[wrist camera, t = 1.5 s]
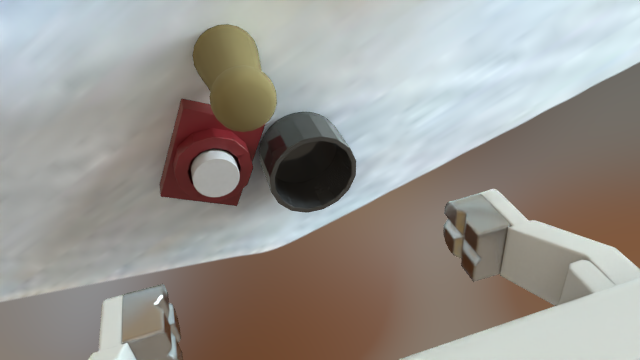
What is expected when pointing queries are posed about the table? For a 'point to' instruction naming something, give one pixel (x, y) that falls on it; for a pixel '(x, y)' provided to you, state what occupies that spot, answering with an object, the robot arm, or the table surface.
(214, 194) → the button
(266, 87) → the olive yellow knobbed peg
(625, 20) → the table surface
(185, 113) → the panel
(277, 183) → the cup
